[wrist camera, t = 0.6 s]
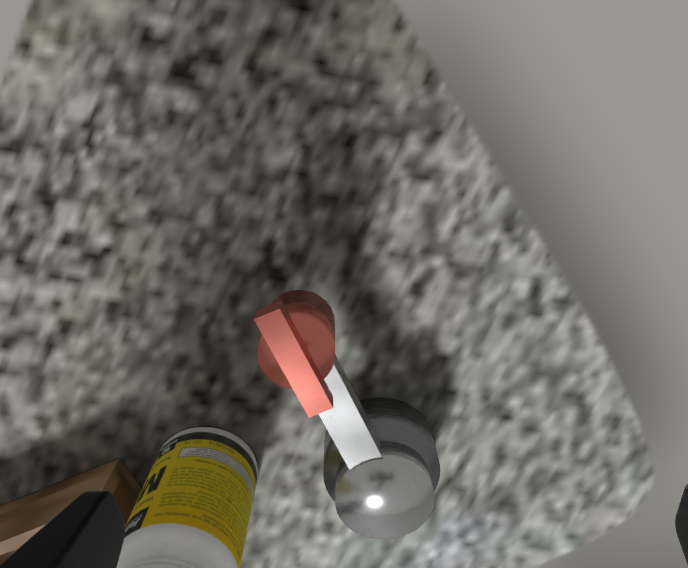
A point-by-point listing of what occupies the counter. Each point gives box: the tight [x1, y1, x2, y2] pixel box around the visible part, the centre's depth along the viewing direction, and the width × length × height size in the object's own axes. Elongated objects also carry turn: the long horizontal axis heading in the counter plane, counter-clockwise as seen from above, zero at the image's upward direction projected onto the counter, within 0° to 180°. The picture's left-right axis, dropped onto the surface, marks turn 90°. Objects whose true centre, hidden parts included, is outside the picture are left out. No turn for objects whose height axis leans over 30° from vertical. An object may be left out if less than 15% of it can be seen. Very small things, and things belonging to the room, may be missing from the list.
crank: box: [254, 290, 435, 539], centre depth 21 cm, size 12×4×3 cm, turn 24°
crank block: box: [324, 398, 440, 501], centre depth 25 cm, size 5×5×2 cm
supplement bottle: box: [117, 427, 258, 568], centre depth 22 cm, size 5×5×8 cm
